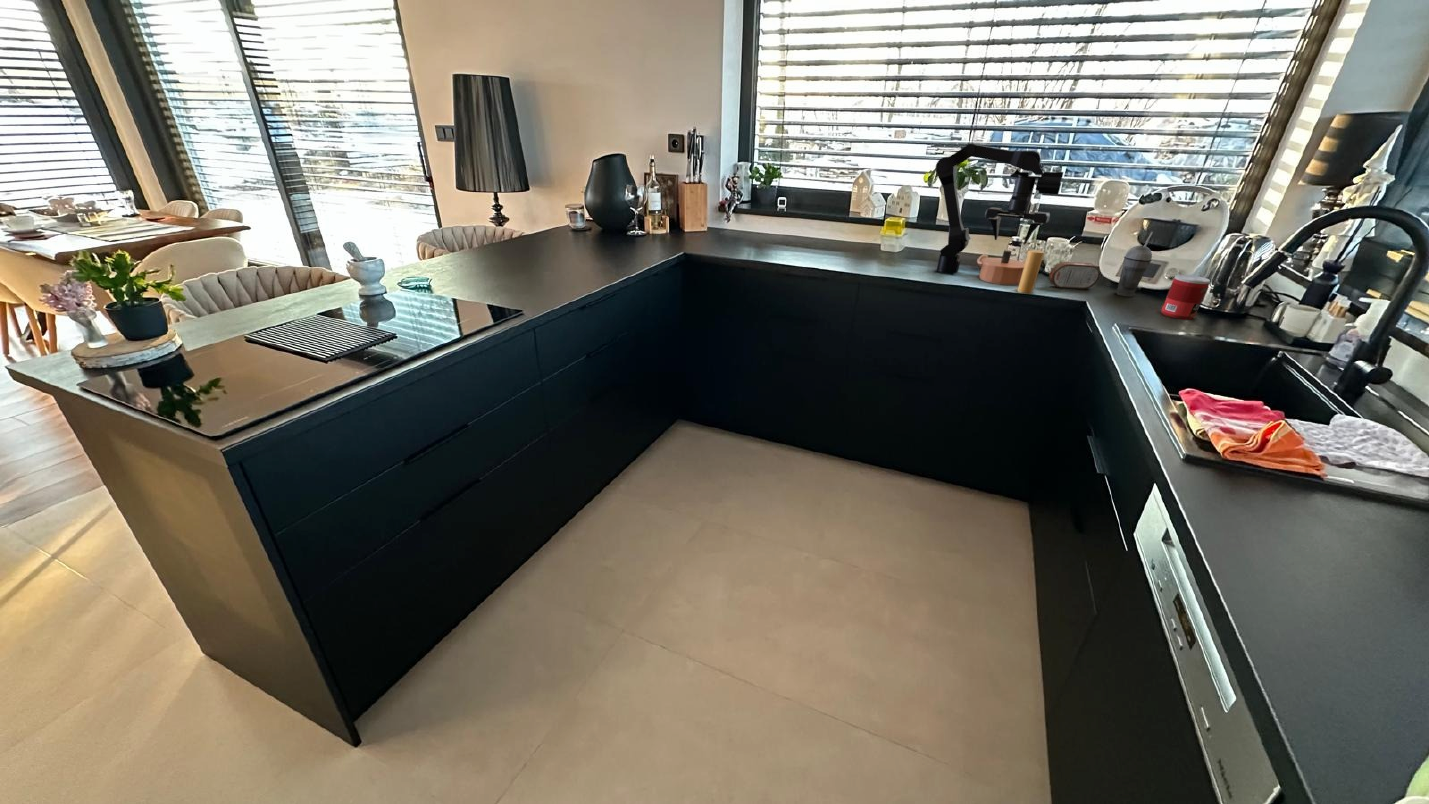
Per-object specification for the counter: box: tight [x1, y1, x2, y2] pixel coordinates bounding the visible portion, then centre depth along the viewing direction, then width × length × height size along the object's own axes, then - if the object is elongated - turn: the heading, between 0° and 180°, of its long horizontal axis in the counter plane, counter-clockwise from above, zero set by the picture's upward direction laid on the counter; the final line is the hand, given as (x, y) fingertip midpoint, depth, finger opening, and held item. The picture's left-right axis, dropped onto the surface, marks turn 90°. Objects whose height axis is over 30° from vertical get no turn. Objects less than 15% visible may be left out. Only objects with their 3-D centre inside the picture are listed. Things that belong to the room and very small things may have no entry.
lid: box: [982, 249, 1025, 269], centre depth 190 cm, size 15×15×5 cm
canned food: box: [1161, 274, 1211, 320], centre depth 159 cm, size 8×8×11 cm
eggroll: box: [1017, 249, 1045, 295], centre depth 178 cm, size 4×4×13 cm
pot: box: [978, 263, 1023, 286], centre depth 193 cm, size 14×14×6 cm
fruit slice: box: [976, 253, 994, 268], centre depth 206 cm, size 8×7×5 cm
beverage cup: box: [1116, 231, 1154, 298], centre depth 176 cm, size 7×7×20 cm
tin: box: [1048, 261, 1101, 290], centre depth 184 cm, size 15×3×8 cm, turn 84°
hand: (1010, 241), depth 188 cm, fingers open, 9 cm apart
